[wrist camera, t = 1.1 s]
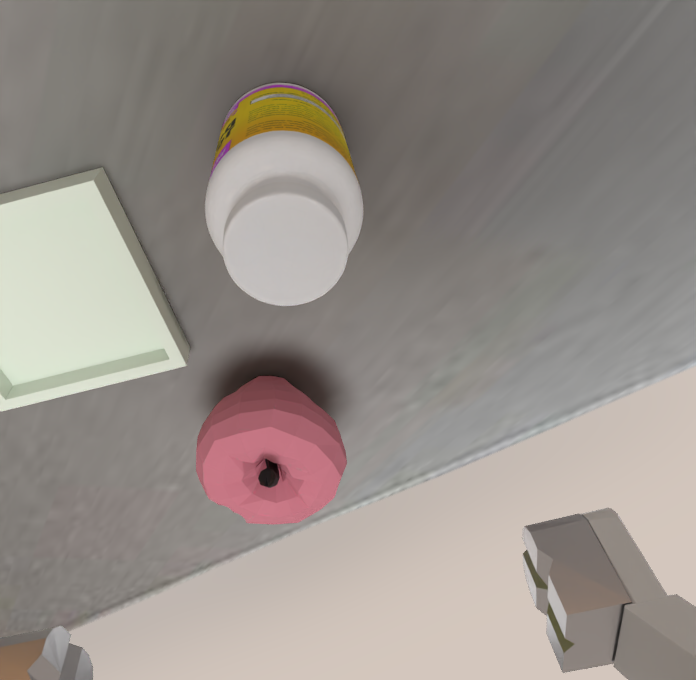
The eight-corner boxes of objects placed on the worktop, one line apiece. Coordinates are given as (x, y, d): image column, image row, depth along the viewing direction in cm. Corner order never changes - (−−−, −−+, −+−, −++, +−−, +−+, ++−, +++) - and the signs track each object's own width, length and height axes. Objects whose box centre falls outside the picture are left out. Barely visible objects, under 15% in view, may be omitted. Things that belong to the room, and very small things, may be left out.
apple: (180, 393, 41) (157, 508, 33) (267, 320, 39) (265, 427, 31) (277, 458, 46) (278, 572, 38) (361, 397, 43) (381, 507, 35)
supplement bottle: (223, 70, 30) (195, 151, 19) (352, 89, 31) (391, 175, 20) (218, 196, 33) (193, 321, 23) (333, 209, 35) (359, 333, 24)
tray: (102, 166, 32) (93, 180, 30) (190, 347, 39) (186, 365, 38) (-115, 224, 32) (-136, 240, 31) (11, 391, 40) (0, 411, 38)
